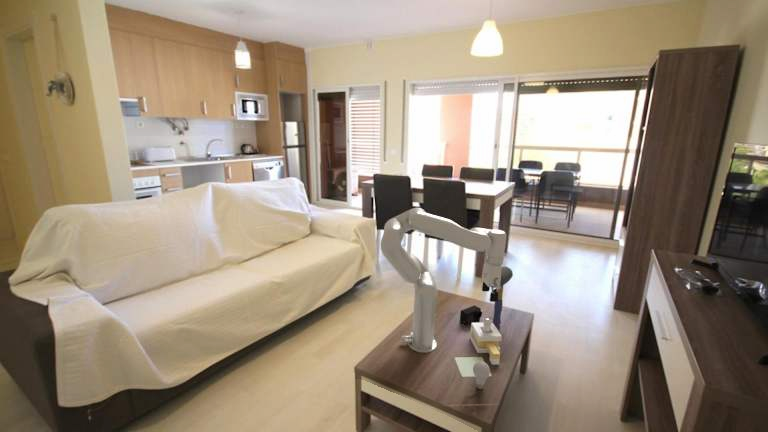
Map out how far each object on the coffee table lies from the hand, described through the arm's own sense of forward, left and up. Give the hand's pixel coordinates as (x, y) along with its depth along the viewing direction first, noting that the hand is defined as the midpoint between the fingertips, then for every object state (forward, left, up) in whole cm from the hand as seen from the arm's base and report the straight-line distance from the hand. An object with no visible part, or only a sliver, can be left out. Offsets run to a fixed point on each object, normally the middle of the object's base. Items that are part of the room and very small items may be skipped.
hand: (489, 296), depth 153 cm
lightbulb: (-11, -26, -25) cm, 38 cm away
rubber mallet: (+12, +18, -25) cm, 33 cm away
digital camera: (0, +21, -25) cm, 33 cm away
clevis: (0, -3, -25) cm, 25 cm away
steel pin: (0, 0, -25) cm, 25 cm away
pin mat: (-10, -14, -25) cm, 30 cm away
